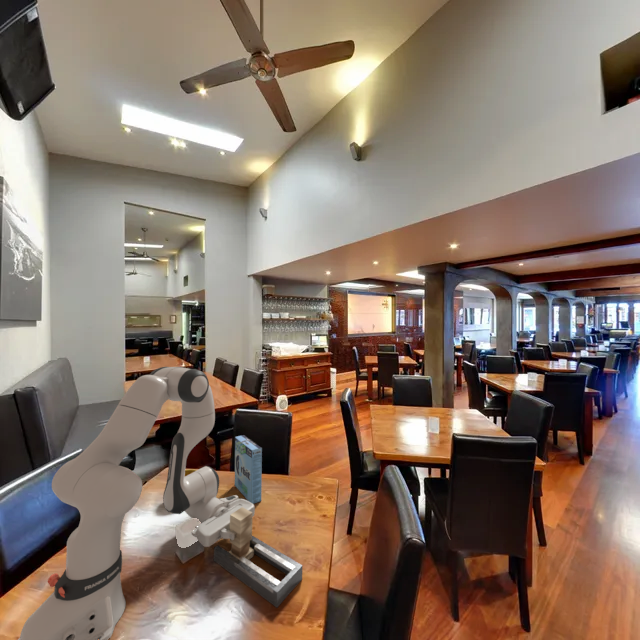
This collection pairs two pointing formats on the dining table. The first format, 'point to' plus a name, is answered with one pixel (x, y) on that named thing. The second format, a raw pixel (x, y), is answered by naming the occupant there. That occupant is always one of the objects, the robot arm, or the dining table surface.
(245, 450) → the gum box
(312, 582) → the dining table surface
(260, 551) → the grey slotted frame
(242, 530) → the birch keyhole peg
